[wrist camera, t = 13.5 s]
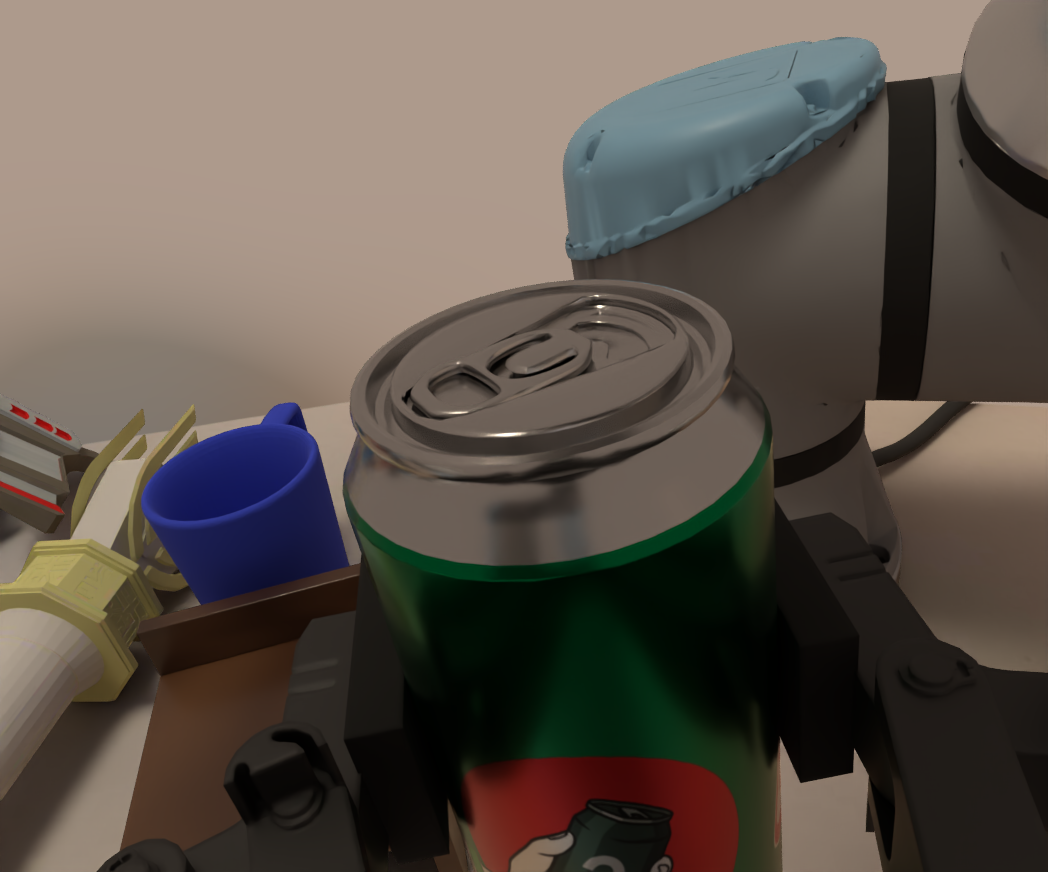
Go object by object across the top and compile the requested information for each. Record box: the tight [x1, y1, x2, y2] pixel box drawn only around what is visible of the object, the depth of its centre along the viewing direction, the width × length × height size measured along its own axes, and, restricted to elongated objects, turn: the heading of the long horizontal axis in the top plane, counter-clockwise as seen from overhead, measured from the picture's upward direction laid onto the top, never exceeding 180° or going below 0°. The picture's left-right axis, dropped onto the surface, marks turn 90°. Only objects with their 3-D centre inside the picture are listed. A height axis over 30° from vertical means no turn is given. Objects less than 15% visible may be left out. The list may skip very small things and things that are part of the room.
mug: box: [141, 403, 349, 605], centre depth 43 cm, size 8×12×10 cm
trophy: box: [0, 405, 198, 802], centre depth 40 cm, size 8×8×30 cm
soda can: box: [343, 279, 783, 872], centre depth 13 cm, size 5×5×12 cm
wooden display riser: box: [120, 563, 469, 872], centre depth 33 cm, size 11×11×8 cm
